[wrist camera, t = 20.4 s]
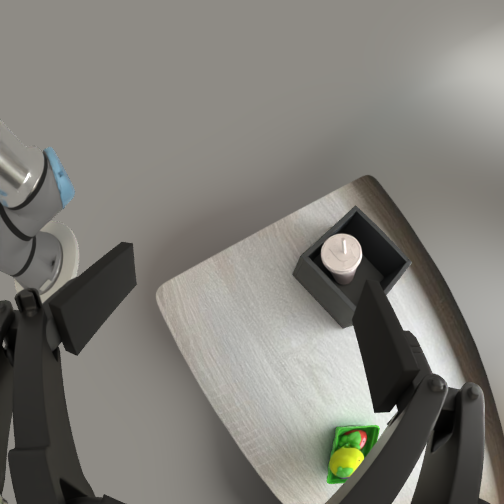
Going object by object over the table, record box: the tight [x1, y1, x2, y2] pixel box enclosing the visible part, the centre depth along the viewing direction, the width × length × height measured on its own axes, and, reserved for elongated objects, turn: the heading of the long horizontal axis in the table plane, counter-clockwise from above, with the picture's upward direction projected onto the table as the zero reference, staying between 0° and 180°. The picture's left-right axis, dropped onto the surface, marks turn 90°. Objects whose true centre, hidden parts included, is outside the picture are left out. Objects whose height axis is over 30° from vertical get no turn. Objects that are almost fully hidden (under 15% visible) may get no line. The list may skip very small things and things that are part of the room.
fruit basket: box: [327, 425, 380, 484], centre depth 32 cm, size 11×9×11 cm
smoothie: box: [321, 234, 362, 285], centre depth 42 cm, size 6×6×14 cm
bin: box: [292, 206, 412, 328], centre depth 45 cm, size 14×14×10 cm
